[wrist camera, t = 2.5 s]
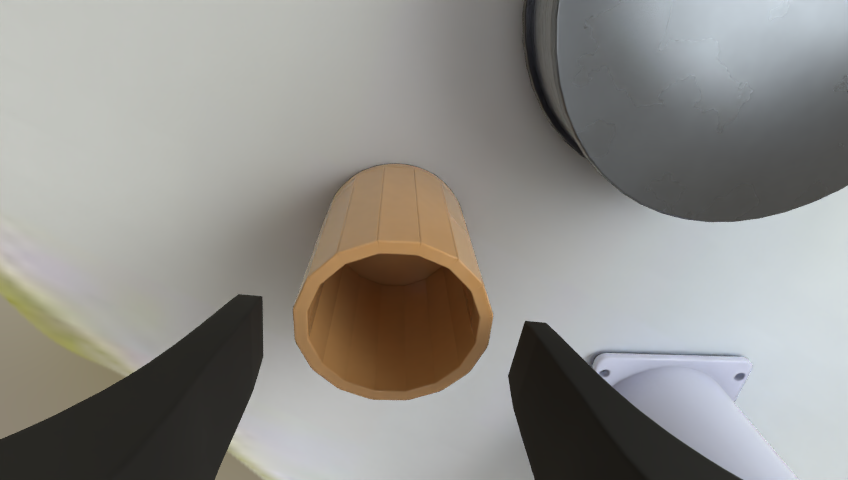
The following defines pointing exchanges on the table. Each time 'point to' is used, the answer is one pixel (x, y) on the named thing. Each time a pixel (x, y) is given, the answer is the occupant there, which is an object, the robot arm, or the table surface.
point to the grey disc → (698, 98)
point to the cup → (393, 288)
